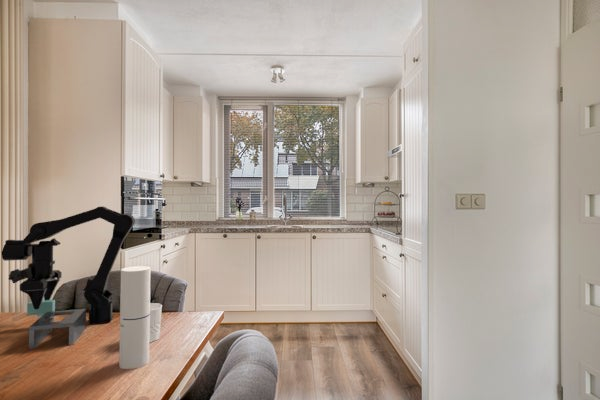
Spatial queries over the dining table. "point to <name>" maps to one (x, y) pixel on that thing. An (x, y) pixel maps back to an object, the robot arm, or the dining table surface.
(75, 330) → the grey square frame stand
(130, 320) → the cylindrical container
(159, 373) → the dining table surface
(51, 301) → the peg
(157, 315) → the white cup
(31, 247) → the robot arm
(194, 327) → the dining table surface
